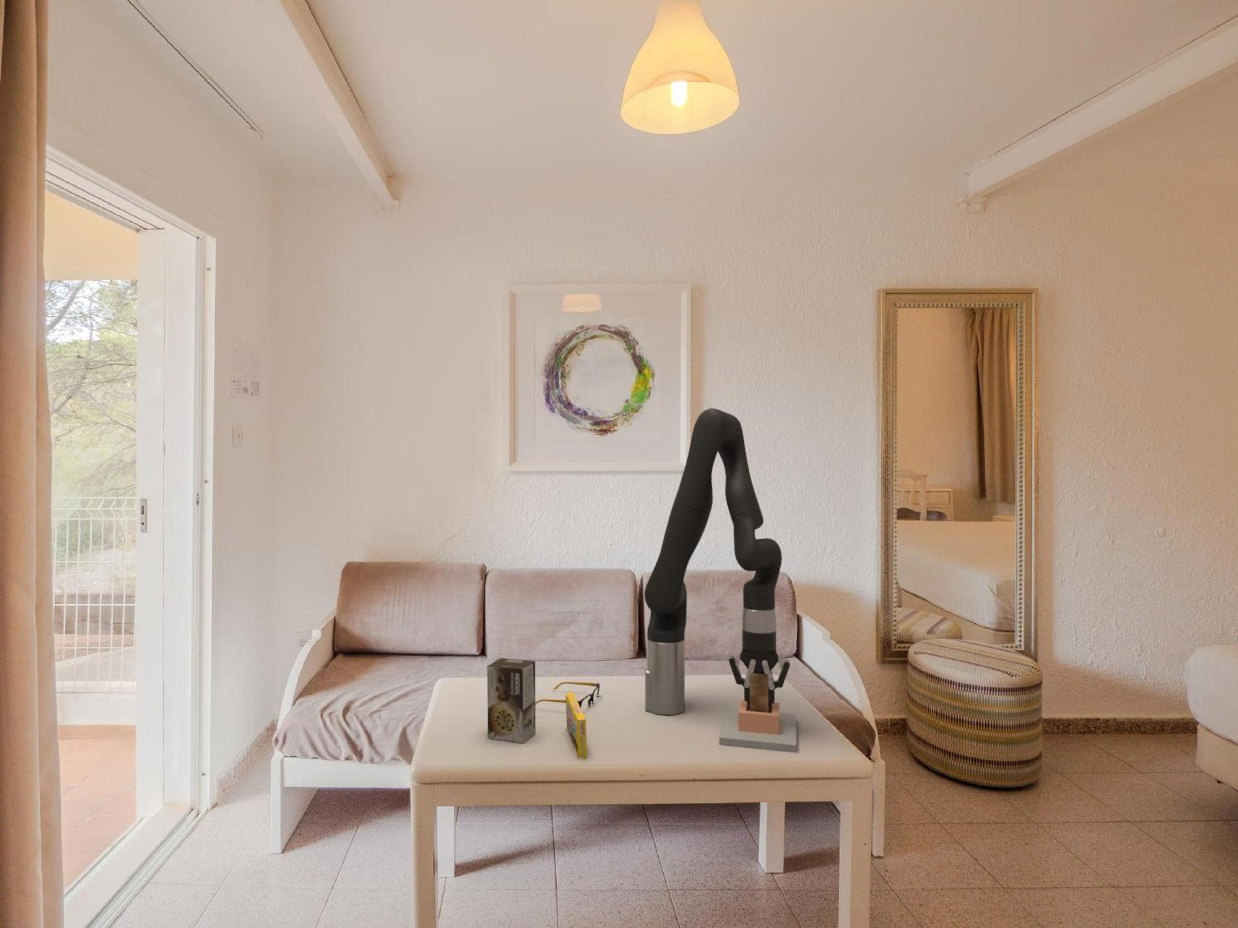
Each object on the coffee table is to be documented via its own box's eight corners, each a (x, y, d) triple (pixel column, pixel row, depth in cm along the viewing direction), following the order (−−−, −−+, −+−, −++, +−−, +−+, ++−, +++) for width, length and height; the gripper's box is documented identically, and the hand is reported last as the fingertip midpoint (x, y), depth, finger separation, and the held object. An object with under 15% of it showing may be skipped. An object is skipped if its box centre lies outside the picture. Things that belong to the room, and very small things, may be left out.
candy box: (565, 729, 148) (565, 692, 149) (574, 728, 149) (574, 692, 149) (577, 759, 133) (577, 718, 133) (587, 758, 133) (587, 717, 133)
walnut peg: (749, 718, 145) (749, 673, 145) (750, 712, 149) (750, 668, 149) (768, 720, 144) (768, 674, 144) (768, 713, 148) (768, 669, 148)
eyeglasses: (583, 717, 157) (583, 700, 157) (528, 710, 161) (528, 694, 161) (602, 698, 170) (602, 682, 170) (551, 692, 175) (551, 677, 175)
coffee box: (536, 732, 146) (536, 660, 146) (523, 744, 140) (523, 668, 140) (500, 727, 149) (500, 656, 149) (486, 738, 143) (486, 664, 143)
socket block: (719, 744, 140) (719, 718, 140) (727, 714, 157) (727, 691, 157) (796, 752, 136) (796, 725, 136) (796, 720, 153) (795, 697, 153)
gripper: (725, 629, 145) (726, 707, 145) (791, 633, 141) (792, 713, 141) (728, 622, 152) (729, 696, 152) (791, 625, 149) (792, 701, 148)
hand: (759, 703), depth 147 cm, fingers closed on walnut peg, 4 cm apart
